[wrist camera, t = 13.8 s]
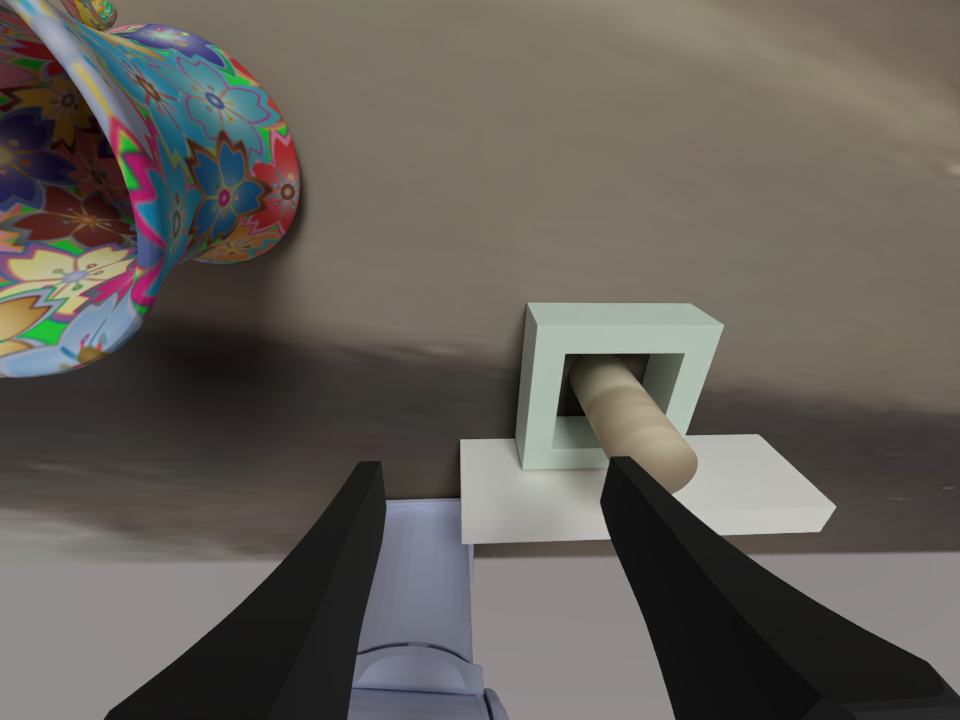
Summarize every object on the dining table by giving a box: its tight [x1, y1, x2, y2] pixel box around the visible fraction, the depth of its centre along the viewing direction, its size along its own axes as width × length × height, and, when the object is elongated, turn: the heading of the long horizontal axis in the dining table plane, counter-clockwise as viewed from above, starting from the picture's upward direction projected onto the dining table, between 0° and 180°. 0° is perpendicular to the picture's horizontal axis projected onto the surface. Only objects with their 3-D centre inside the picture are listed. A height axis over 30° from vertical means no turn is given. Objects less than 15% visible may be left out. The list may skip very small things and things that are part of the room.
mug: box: [0, 0, 300, 378], centre depth 11 cm, size 12×9×11 cm
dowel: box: [569, 354, 698, 495], centre depth 19 cm, size 3×3×8 cm
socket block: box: [515, 303, 724, 470], centre depth 21 cm, size 9×9×3 cm
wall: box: [460, 434, 836, 544], centre depth 23 cm, size 2×20×6 cm, turn 89°
